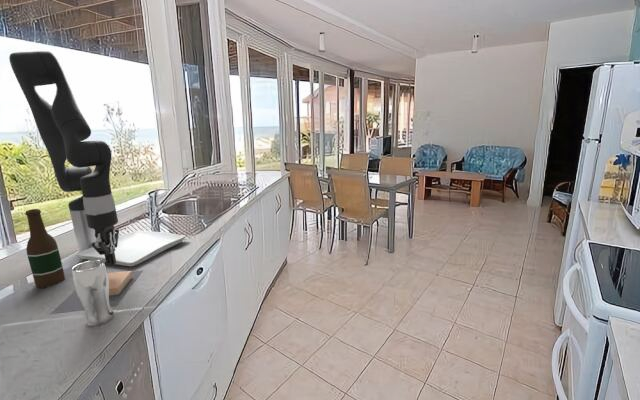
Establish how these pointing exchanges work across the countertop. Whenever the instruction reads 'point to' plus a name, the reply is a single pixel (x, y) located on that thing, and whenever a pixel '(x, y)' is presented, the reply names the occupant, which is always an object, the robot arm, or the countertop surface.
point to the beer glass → (93, 291)
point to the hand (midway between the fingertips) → (111, 264)
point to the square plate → (136, 247)
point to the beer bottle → (43, 253)
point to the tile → (118, 281)
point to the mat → (75, 304)
